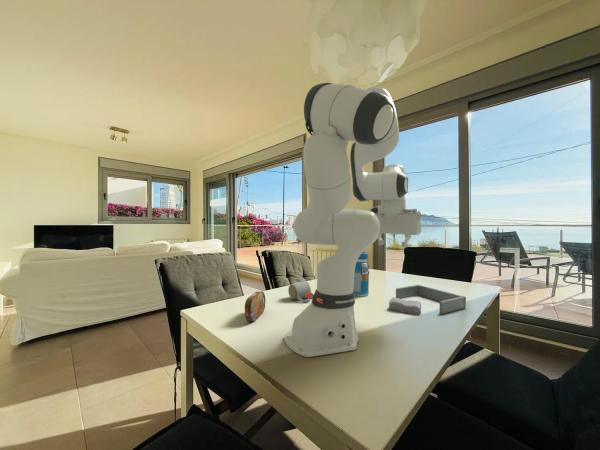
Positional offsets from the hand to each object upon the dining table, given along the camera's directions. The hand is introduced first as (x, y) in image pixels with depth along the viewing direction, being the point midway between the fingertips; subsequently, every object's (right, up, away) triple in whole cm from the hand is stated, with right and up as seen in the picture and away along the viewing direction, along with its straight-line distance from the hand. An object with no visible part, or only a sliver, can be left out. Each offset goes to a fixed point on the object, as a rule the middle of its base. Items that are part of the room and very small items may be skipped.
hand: (392, 245), depth 100 cm
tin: (-52, -26, -4) cm, 58 cm away
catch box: (+20, -26, +13) cm, 35 cm away
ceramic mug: (-35, -26, +18) cm, 47 cm away
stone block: (+7, -26, +6) cm, 28 cm away
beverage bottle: (-6, -26, +27) cm, 37 cm away
